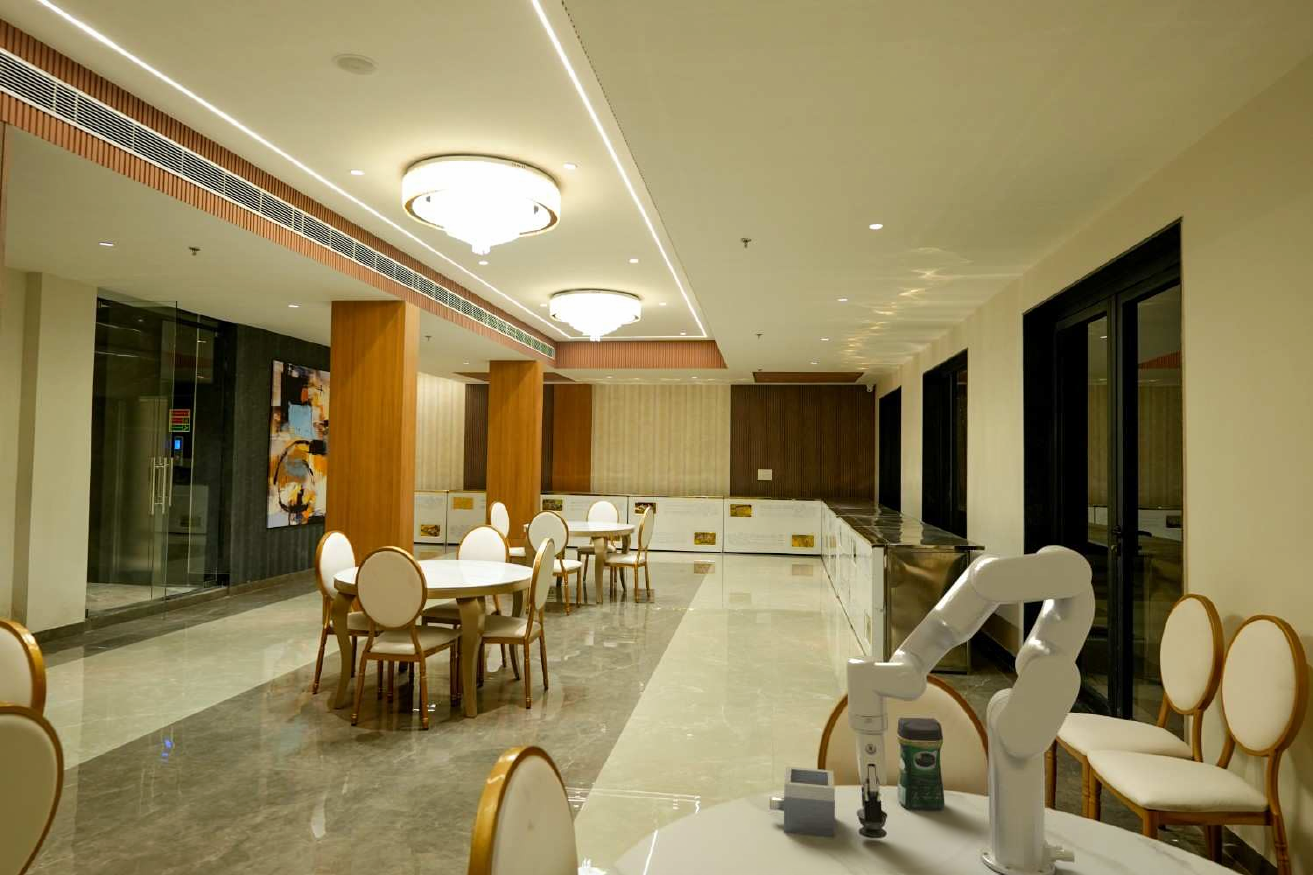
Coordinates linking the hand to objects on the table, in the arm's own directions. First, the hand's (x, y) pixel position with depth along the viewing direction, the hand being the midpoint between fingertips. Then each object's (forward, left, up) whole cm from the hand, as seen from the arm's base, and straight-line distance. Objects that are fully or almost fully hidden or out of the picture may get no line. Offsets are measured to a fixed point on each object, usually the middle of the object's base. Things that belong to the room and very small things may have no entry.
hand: (871, 813), depth 152 cm
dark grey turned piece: (0, 0, -4) cm, 4 cm away
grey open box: (+14, -6, -5) cm, 16 cm away
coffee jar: (-12, -21, -6) cm, 25 cm away
